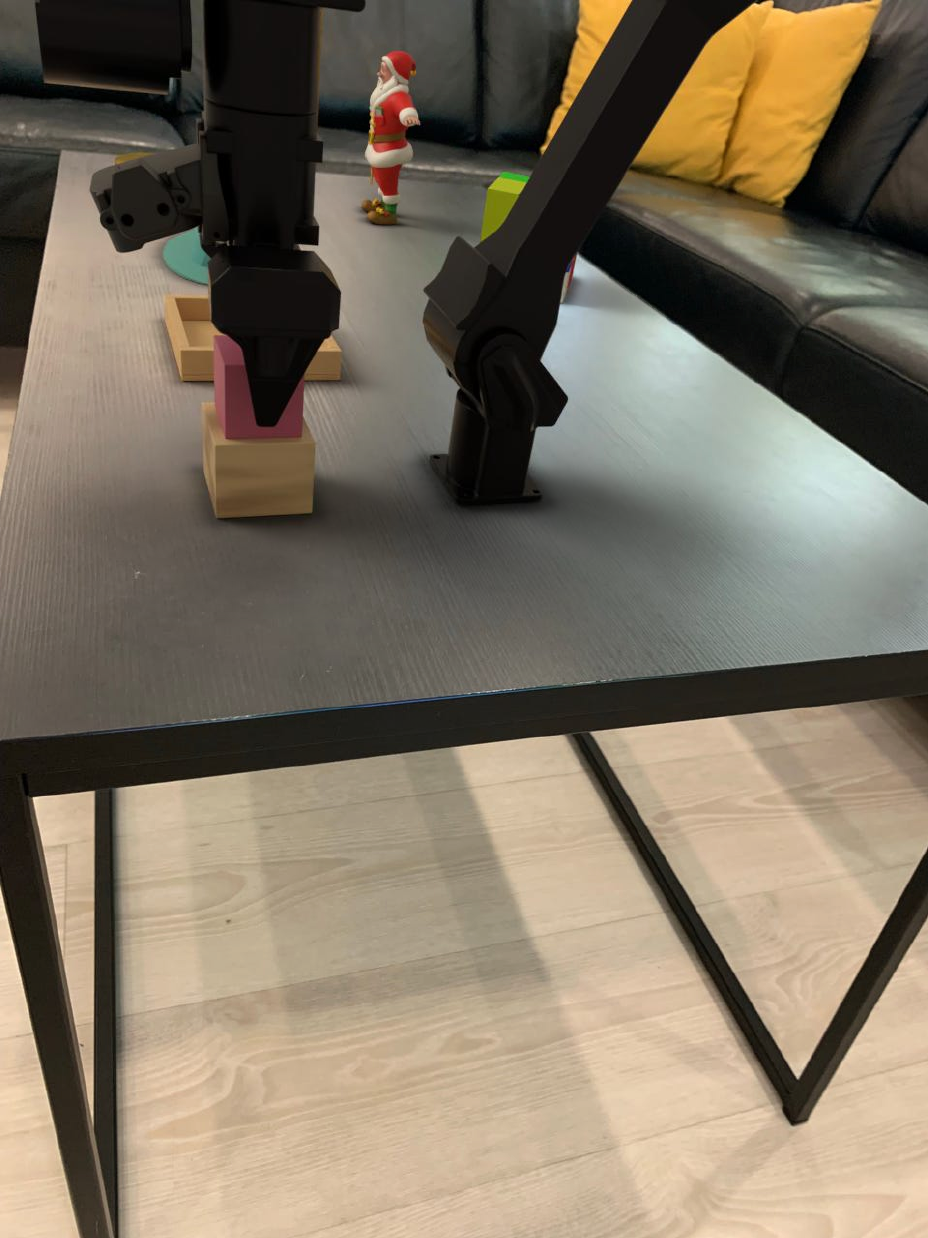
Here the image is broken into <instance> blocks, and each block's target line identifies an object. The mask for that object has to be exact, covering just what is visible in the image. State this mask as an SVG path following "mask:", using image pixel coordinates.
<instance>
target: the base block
mask: <svg viewBox="0 0 928 1238" xmlns="http://www.w3.org/2000/svg"><path fill="white" fill-rule="evenodd" d="M201 424H202V425H201V426H202V428H201V429H202V464H203V465H202V466H203V469H202V470H203V476H204V478H205V482H206V486H207V489H208V494H209V498H210V501H211V504H212V505H211V506H212V508H213V511H214V516H215V518H216V519H228V518H229V519H230V518H247V517H250V518H251V517H264V516H265V517H266V516H267V517H268V516H285V515H303V514H304V515H305V514H312V513H313V508H314V507H313V506H314V505H313V504H314V487H315V485H314V484H315V468H316V467H315V466H316V447H317V446H316V445H317V443H316V442H317V441H315V438H314V436H313V433H312V431H311V430H310V427H309V425H308V423H307V421H306V419H305V417H304V416H303V426H302V437H279V438H240V439H225V436H224V433H223V430H222V427H221V424H220V421H219V418H218V414H217V411H216V408H215V401H201Z"/></svg>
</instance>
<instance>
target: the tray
mask: <svg viewBox="0 0 928 1238" xmlns="http://www.w3.org/2000/svg"><path fill="white" fill-rule="evenodd" d="M163 299H164V316H165V317H164V320H165V321H164V322H165V326H166V329H167V332H168V337H169V341H170V344H171V348H172V351H173V354H174V358H175V362H176V365H177V369H178V373H179V376H180V380H181V382H214V344H213V336H214V335H224V334H222V333H220V332H219V331H218V330H217V329H216V328H215V327H214V325H213V324H212V323H211V317H210V310H209V301H208V294H207V295H205V294H172V293H171V294H170V293H169V294H168V293H167V294H164V295H163ZM342 352H343V351H342V350H341V348H340V346H339V345H338V343H337V341H336V340H335V338H334V336H333V335H332V334H331V336H330V337H329V338H328V339H325V340H324V342H323V343H322V345H321V347H320V348H319V350H318V352H317V353H316V355H315V356H314V358H313V360H312V361H311V363H310V365H309V366H308V368H307V370H306V372H305V377H304V381H340V380H341V368H342Z"/></svg>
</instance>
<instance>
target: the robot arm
mask: <svg viewBox="0 0 928 1238" xmlns="http://www.w3.org/2000/svg"><path fill="white" fill-rule="evenodd" d="M758 1H759V0H631V1H630V3H629V5H628V6H627V8H626V10H625V11H624V13H623V15H622V17H621V19H620V20H619V22H618V23H617V25H616V27H615V28H614V30H613V32H612V34H611V36H610V38H609V39H608V41H607V42H606V44H605V46H604V48H603V49H602V51H601V53H600V55H599V56H598V58H597V60H596V62H595V63H594V65H593V67H592V69H591V70H590V72H589V74H588V75H587V77H586V79H585V81H584V83H583V84H582V86H581V87H580V89H579V91H578V93H577V95H576V97H575V98H574V99H573V101H572V103H571V105H570V106H569V108H568V109H567V111H566V114H565V115H564V117H563V119H562V120H561V122H560V124H559V126H558V127H557V129H556V131H555V132H554V134H553V136H552V138H551V139H550V141H549V143H548V144H547V146H546V148H545V150H544V151H543V153H542V155H541V156H540V159H539V160H538V162H537V163H536V165H535V167H534V169H533V171H532V172H531V174H530V176H528V177H529V179H528V181H527V183H526V184H525V186H524V188H523V190H522V191H521V193H520V195H519V196H518V198H517V200H516V202H515V203H514V205H513V207H512V209H511V210H510V212H509V214H508V216H507V217H506V219H505V221H504V222H503V223H502V225H501V226H500V227H499V228H498V229H497V230H496V231H495V232H494V233H492V234H491V235H490V236H488V237H487V238H486V239H484V240H483V241H482V242H480V241H479V243H477V245H475V246H472V245H471V244H470V243H469V242H468V241H467V240H466V239H464V238H463V237H462V235H457V236H456V237H455V238H454V240H453V241H452V243H451V244H450V247H449V249H448V250H447V254H446V257H445V259H444V262H443V263H442V266H441V268H440V270H439V272H438V273H437V274H436V275H435V277H434V278H433V280H431V281H430V282H429V283H428V284H427V285H426V286H424V288H423V290H422V291H423V293H424V295H426V296H427V297H428V300H427V303H426V305H425V308H424V310H423V315H422V325H423V329H424V334H425V338H426V341H427V342H428V344H429V346H430V347H431V349H432V351H433V352H434V353H435V354H436V356H437V357H438V358H439V359H440V360H441V362H442V363H443V364H444V368H445V372H446V375H447V376H448V377H449V378H450V379H452V380H453V381H454V382H455V384H456V385H457V386H458V389H457V391H456V394H455V401H454V407H453V408H454V409H453V416H452V421H451V429H450V437H449V443H448V449H447V450H448V451H447V453H433V454H431V455H430V456H429V460H428V461H429V464H430V466H431V468H432V469H433V471H434V472H435V473H436V475H437V477H438V478H439V480H440V481H441V483H442V485H443V486H444V487H445V489H446V490H447V492H448V494H449V495H450V497H451V498H452V499H453V501H454V502H455V503H456V504H458V505H462V506H463V505H464V506H465V505H480V504H481V505H482V504H484V505H485V504H498V503H502V504H503V503H514V502H516V503H517V502H519V503H520V502H535V501H537V502H538V501H541V500H542V499H543V496H544V491H543V490H542V488H540V487H539V485H538V484H537V482H536V481H535V480H534V479H533V477H532V476H531V475H530V474H529V466H530V462H531V456H532V451H533V446H534V442H535V437H536V432H537V429H538V428H548V427H549V428H550V427H554V426H555V425H556V423H557V422H558V420H559V419H560V417H561V415H562V413H563V411H564V410H565V407H566V406H567V404H568V402H569V396H568V395H567V392H565V391H564V390H563V388H562V386H561V385H560V384H559V383H558V381H557V380H556V379H555V378H554V376H553V375H552V374H551V372H550V371H549V370H548V368H546V366H545V365H544V363H543V362H542V359H543V357H544V354H545V352H546V350H547V347H548V345H549V343H550V341H551V338H552V336H553V334H554V332H555V330H556V327H557V325H558V319H559V313H560V308H561V303H560V301H561V295H562V289H563V283H564V277H565V274H566V272H567V269H568V267H569V265H570V263H571V262H572V260H573V259H574V257H575V255H576V254H577V255H578V253H577V252H579V250H580V249H581V247H582V246H583V244H584V242H585V241H586V239H587V237H588V236H589V234H590V233H591V231H592V230H593V228H594V226H595V225H596V223H597V222H598V220H599V219H600V217H601V215H602V213H603V212H604V210H605V209H606V207H607V205H608V204H609V202H610V201H611V199H612V198H613V196H614V194H615V192H616V191H617V189H618V188H619V186H620V184H621V183H622V181H623V180H624V178H625V176H626V174H627V173H628V172H629V170H630V168H631V166H632V165H633V164H634V161H635V160H636V158H637V157H638V155H640V152H641V150H642V149H643V147H644V146H645V144H646V142H647V140H648V139H649V138H650V136H651V134H652V133H653V131H654V129H655V128H656V126H657V124H658V123H659V122H660V120H661V118H662V116H663V115H664V113H665V111H666V110H667V109H668V108H669V106H670V104H671V102H672V101H673V99H674V97H675V96H676V94H677V92H678V91H679V89H680V87H681V86H682V84H683V83H684V81H685V79H686V78H687V76H688V75H689V73H690V71H691V70H692V69H693V66H694V65H695V64H696V62H697V60H698V58H699V57H700V55H701V53H702V52H703V50H704V49H705V47H706V45H707V44H708V43H709V42H710V41H711V40H712V38H713V37H714V36H715V35H716V34H717V33H718V32H719V31H721V30H723V28H725V27H727V25H729V24H730V23H731V22H732V21H734V20H736V18H737V17H738V16H740V15H741V14H743V13H744V12H746V10H748V9H749V8H750V7H751V6H753V5H754V4H755V3H756V2H758ZM191 5H192V4H191V0H34V8H35V18H36V27H37V34H38V35H37V36H38V42H39V43H38V44H39V53H40V60H41V69H42V77H43V83H44V84H52V85H53V84H54V85H64V86H72V87H73V86H74V87H82V88H83V87H84V88H85V87H86V88H93V89H102V90H103V89H104V90H113V91H123V92H124V91H126V92H135V93H145V94H146V93H147V94H154V95H155V94H156V95H166V96H167V95H168V94H169V91H170V82H171V79H176V80H181V79H182V74H191V70H192V65H193V24H192V8H191ZM366 6H367V1H366V0H201V31H202V32H201V37H202V38H201V39H202V40H201V41H202V81H203V82H202V83H203V84H202V85H203V87H202V88H203V110H202V111H201V118H200V117H197V118H196V123H195V125H196V126H195V127H196V129H195V130H196V143H191V144H188V145H184V146H180V147H176V148H170V149H165V150H162V151H158V152H153V153H154V154H151V155H147V156H144V157H140V158H137V159H133V160H130V161H127V162H123V163H120V164H116V165H115V164H114V165H113V164H112V165H110V166H106V167H104V168H102V169H99V170H97V171H95V172H94V173H93V174H92V175H91V179H90V184H89V193H90V195H91V197H92V199H93V202H94V204H95V206H96V208H97V211H98V213H99V223H100V224H101V226H102V228H103V229H105V230H106V231H107V233H108V236H109V238H110V241H111V242H112V245H113V247H114V249H115V251H116V252H117V253H120V254H126V253H131V252H136V251H139V250H142V249H143V248H144V246H145V245H146V244H148V243H152V242H155V241H158V240H161V239H165V238H167V237H168V238H169V237H171V236H176V235H179V234H183V233H185V232H188V231H191V230H194V229H196V227H197V228H198V233H200V234H199V238H200V245H201V248H202V250H203V251H204V252H205V253H206V254H207V255H208V256H209V257H210V258H211V260H209V261H208V262H207V280H208V285H207V295H208V301H209V310H210V317H211V323H212V324H213V325H214V327H215V328H216V329H217V330H218V331H219V332H220V333H222V334H224V335H227V336H228V337H229V338H231V339H232V340H233V341H234V342H235V343H237V344H238V345H239V346H240V348H241V350H242V354H243V359H244V364H245V370H246V375H247V380H248V385H249V390H250V395H251V400H252V405H253V410H254V416H255V421H256V424H257V426H259V427H275V426H276V425H277V423H278V422H279V420H280V418H281V416H282V414H283V412H284V410H285V408H286V407H287V405H288V403H289V401H290V399H291V397H292V395H293V394H294V392H295V390H296V388H297V386H298V384H299V382H300V380H301V379H302V377H303V375H304V374H305V372H306V370H307V368H308V366H309V365H310V363H311V361H312V360H313V358H314V356H315V355H316V353H317V352H318V350H319V348H320V347H321V345H322V343H323V342H324V340H325V339H328V338H329V337H330V336H331V335H332V333H333V332H335V331H336V330H339V329H340V320H341V319H340V317H341V303H342V301H341V300H342V291H341V289H340V287H339V284H338V282H337V280H336V278H335V276H334V273H333V271H332V270H331V269H330V267H329V266H328V265H327V264H326V263H325V262H324V261H323V259H322V258H321V257H320V256H319V255H318V254H317V252H316V251H315V250H305V249H303V250H302V249H301V247H300V246H301V245H302V246H314V247H318V246H319V245H320V244H319V243H320V224H319V222H318V221H317V219H316V217H315V196H316V195H315V194H316V171H317V163H319V164H320V163H321V164H323V159H324V158H323V157H324V156H323V155H324V140H323V138H321V136H320V133H318V126H319V103H320V102H319V99H320V76H321V56H322V55H321V52H322V29H323V27H322V26H323V10H324V9H327V10H328V9H329V10H336V11H342V12H343V11H345V12H350V13H361V12H363V11H364V10H365V9H366ZM319 247H320V246H319Z"/></svg>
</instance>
